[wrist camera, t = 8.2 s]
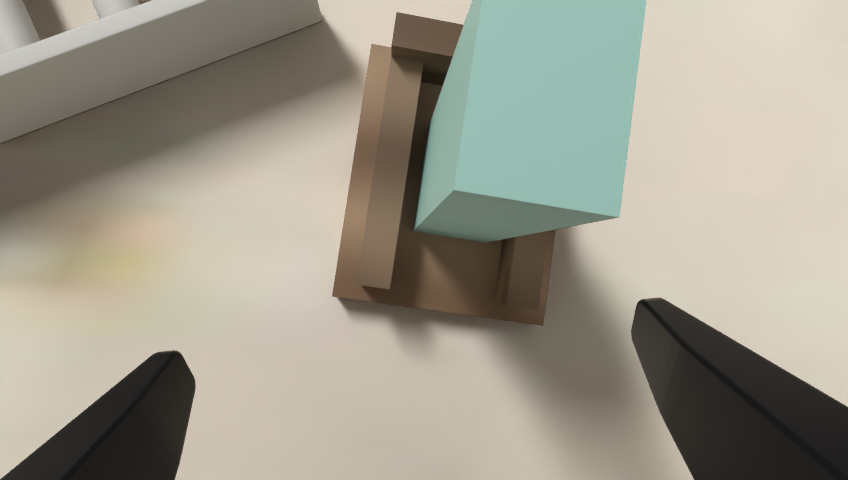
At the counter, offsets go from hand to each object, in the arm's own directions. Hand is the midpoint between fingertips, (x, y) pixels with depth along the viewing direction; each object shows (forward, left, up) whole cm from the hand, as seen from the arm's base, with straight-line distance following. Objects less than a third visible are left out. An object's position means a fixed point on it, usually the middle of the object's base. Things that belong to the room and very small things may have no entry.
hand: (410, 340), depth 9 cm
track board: (0, -6, -14) cm, 15 cm away
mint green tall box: (0, -6, -12) cm, 14 cm away
